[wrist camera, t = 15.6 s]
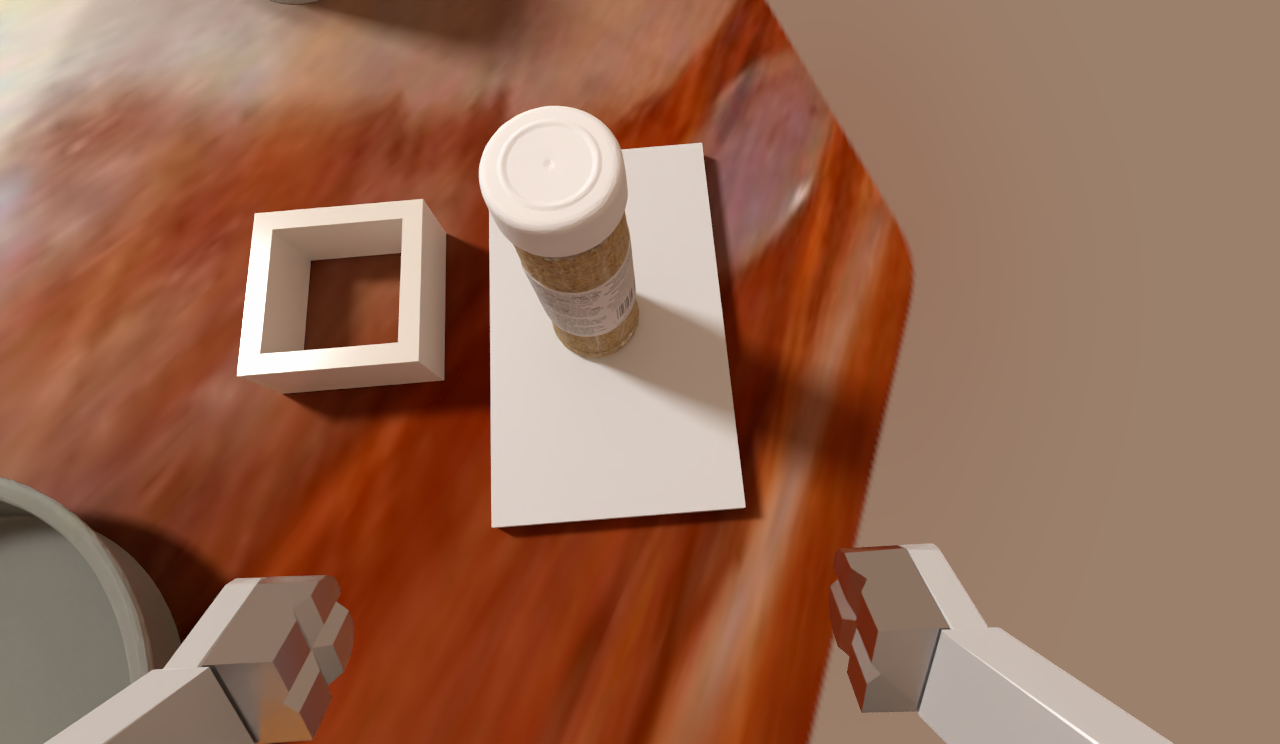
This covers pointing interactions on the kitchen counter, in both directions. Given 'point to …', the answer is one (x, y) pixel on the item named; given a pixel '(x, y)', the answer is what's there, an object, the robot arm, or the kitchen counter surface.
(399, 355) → the stand
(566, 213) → the sprinkles bottle
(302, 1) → the grey ceramic mug
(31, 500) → the cake pan
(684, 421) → the white board
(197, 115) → the kitchen counter surface
